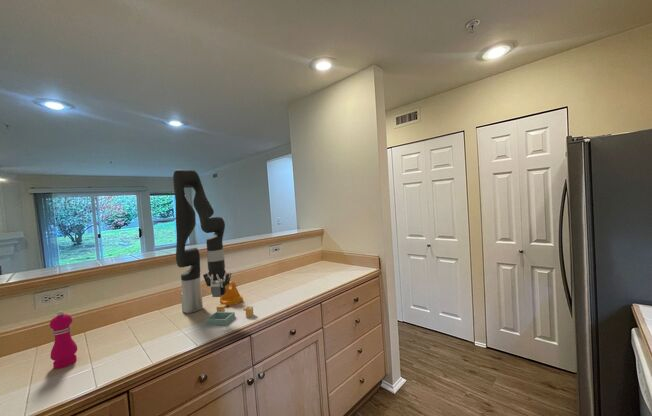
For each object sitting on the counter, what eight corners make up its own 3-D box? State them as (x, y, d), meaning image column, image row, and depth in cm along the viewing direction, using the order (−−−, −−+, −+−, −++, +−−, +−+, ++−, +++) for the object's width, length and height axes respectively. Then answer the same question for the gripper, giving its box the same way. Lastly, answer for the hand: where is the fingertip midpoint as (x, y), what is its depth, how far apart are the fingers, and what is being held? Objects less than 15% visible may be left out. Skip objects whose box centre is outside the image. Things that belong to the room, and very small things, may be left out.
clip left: (217, 314, 137) (216, 306, 136) (220, 312, 140) (219, 304, 139) (223, 314, 136) (223, 307, 136) (226, 312, 139) (226, 304, 139)
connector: (212, 297, 127) (211, 284, 127) (217, 294, 131) (216, 281, 131) (220, 297, 126) (219, 284, 126) (224, 294, 130) (223, 281, 130)
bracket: (224, 307, 146) (222, 285, 145) (220, 304, 151) (218, 283, 151) (243, 301, 152) (242, 280, 152) (238, 298, 158) (237, 278, 158)
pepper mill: (83, 357, 104) (78, 306, 104) (66, 368, 97) (60, 314, 96) (64, 358, 104) (59, 307, 103) (45, 370, 97) (40, 316, 96)
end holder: (206, 324, 126) (205, 319, 126) (216, 316, 134) (215, 311, 134) (225, 325, 124) (225, 319, 124) (235, 317, 132) (234, 312, 132)
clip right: (253, 314, 134) (252, 306, 134) (250, 317, 131) (250, 309, 131) (246, 314, 135) (246, 306, 134) (243, 317, 132) (243, 309, 131)
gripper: (197, 261, 126) (200, 297, 126) (225, 260, 123) (228, 297, 123) (207, 257, 133) (210, 291, 134) (233, 257, 130) (236, 291, 131)
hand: (218, 294), depth 129 cm, fingers closed on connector, 4 cm apart
